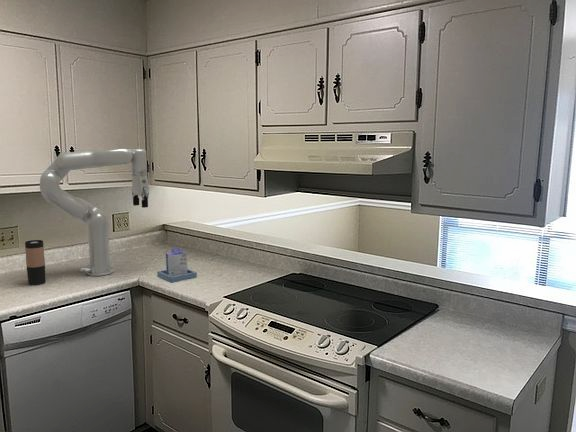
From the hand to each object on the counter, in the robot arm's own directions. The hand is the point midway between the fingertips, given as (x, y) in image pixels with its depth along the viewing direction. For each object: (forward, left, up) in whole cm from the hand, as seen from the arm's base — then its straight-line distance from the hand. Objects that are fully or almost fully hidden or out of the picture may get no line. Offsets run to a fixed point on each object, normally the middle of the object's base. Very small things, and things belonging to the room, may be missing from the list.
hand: (140, 206), depth 242 cm
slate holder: (+6, -25, -33) cm, 42 cm away
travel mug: (-49, +8, -34) cm, 60 cm away
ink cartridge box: (+6, -25, -34) cm, 42 cm away
